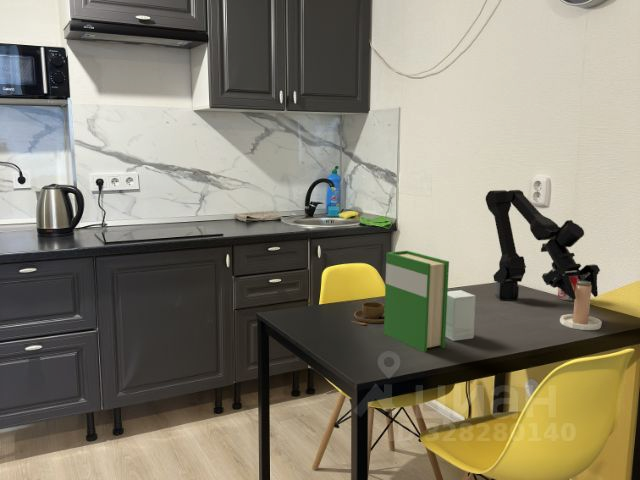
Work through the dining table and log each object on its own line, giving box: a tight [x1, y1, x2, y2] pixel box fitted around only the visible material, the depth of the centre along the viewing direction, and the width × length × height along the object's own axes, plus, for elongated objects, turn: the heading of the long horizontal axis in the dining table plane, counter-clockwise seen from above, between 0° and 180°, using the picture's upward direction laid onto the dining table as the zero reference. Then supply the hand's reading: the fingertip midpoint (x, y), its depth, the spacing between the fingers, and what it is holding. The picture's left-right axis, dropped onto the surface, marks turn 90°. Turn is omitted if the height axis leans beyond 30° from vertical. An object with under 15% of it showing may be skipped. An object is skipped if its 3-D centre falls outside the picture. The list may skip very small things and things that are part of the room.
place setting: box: [350, 301, 385, 326], centre depth 191 cm, size 18×20×6 cm
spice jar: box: [572, 280, 592, 325], centre depth 188 cm, size 4×4×13 cm
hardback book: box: [383, 250, 450, 353], centre depth 171 cm, size 18×7×24 cm, turn 31°
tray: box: [559, 313, 603, 331], centre depth 189 cm, size 12×12×2 cm
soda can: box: [557, 277, 579, 302], centre depth 218 cm, size 7×7×12 cm
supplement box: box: [445, 289, 477, 342], centre depth 176 cm, size 7×7×13 cm
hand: (585, 297), depth 187 cm, fingers open, 9 cm apart
